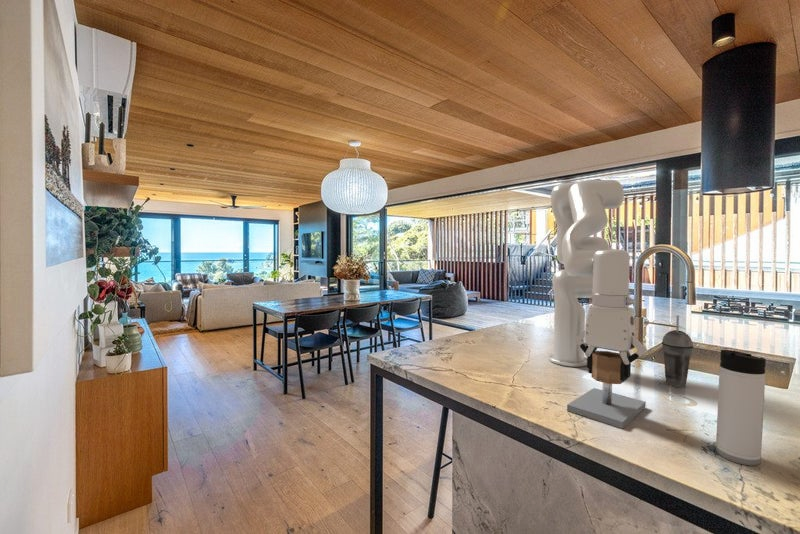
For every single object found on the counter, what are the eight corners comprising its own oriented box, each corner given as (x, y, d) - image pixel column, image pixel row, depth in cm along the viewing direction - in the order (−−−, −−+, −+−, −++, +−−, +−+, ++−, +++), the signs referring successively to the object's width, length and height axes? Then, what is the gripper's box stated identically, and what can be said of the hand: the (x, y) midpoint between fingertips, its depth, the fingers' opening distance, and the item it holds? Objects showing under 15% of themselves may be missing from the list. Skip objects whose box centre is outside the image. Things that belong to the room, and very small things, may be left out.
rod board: (593, 393, 100) (593, 387, 100) (645, 407, 92) (645, 401, 91) (566, 410, 90) (567, 404, 90) (622, 428, 81) (622, 422, 81)
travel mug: (705, 448, 73) (709, 347, 72) (736, 447, 74) (741, 346, 73) (736, 467, 67) (742, 356, 66) (770, 465, 67) (776, 355, 66)
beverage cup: (693, 384, 107) (696, 314, 106) (690, 391, 102) (693, 318, 101) (662, 378, 112) (664, 311, 111) (657, 385, 107) (660, 315, 106)
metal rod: (603, 400, 92) (605, 364, 92) (612, 403, 91) (613, 366, 90) (600, 403, 91) (601, 366, 90) (609, 405, 89) (610, 368, 89)
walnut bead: (598, 373, 95) (599, 349, 94) (627, 379, 90) (627, 354, 90) (588, 378, 90) (588, 354, 90) (617, 386, 86) (618, 360, 85)
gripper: (657, 304, 85) (654, 381, 86) (579, 296, 98) (577, 364, 99) (647, 307, 80) (644, 389, 81) (566, 299, 93) (564, 370, 94)
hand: (607, 375), depth 90 cm, fingers closed on walnut bead, 6 cm apart
